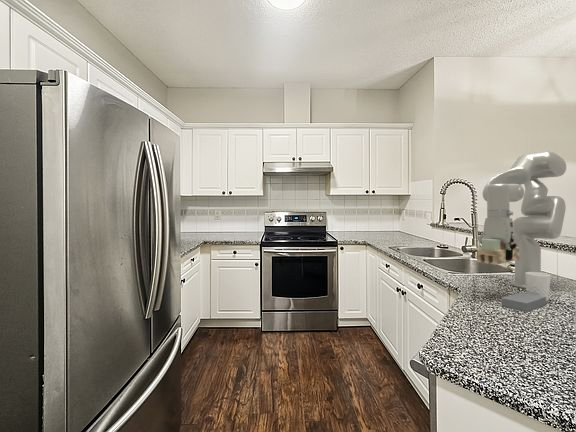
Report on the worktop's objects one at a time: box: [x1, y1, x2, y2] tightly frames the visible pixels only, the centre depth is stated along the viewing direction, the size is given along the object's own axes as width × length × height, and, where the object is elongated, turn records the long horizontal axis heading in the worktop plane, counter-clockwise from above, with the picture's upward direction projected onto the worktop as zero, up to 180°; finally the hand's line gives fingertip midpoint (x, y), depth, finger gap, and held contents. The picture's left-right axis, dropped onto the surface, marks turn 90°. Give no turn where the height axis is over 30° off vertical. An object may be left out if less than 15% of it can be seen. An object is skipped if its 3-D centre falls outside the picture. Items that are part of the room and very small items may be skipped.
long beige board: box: [476, 247, 519, 265], centre depth 130 cm, size 18×7×5 cm, turn 121°
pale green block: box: [481, 239, 500, 251], centre depth 127 cm, size 4×5×4 cm
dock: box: [501, 291, 547, 313], centre depth 118 cm, size 15×8×3 cm, turn 121°
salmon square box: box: [500, 241, 515, 248], centre depth 133 cm, size 4×5×4 cm
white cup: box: [525, 272, 551, 302], centre depth 126 cm, size 8×8×10 cm
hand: (498, 258), depth 130 cm, fingers closed on long beige board, 7 cm apart
